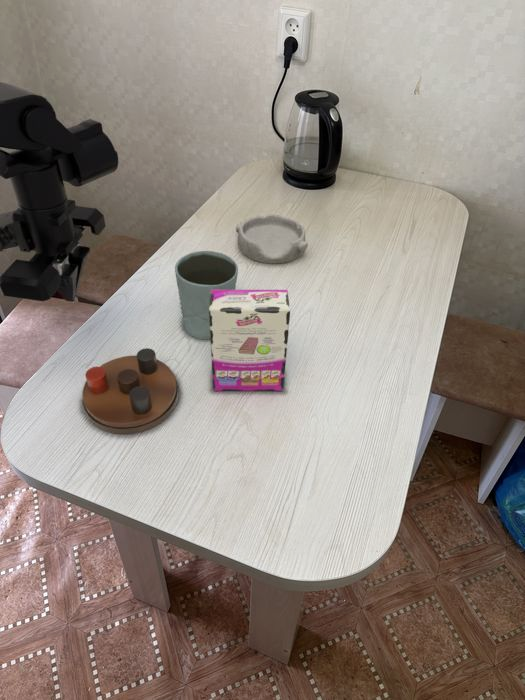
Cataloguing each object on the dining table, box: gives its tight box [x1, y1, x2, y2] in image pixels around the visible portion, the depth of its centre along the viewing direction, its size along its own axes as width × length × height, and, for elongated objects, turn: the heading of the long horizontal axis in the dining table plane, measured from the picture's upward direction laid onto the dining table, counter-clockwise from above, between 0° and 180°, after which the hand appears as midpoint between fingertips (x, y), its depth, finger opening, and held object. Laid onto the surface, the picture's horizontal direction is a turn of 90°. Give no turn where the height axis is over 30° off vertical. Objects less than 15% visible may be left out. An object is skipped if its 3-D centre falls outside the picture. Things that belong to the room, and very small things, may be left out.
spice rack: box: [82, 347, 177, 428], centre depth 74 cm, size 14×14×4 cm
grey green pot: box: [174, 250, 239, 340], centre depth 86 cm, size 10×10×12 cm
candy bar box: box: [209, 289, 291, 392], centre depth 75 cm, size 11×5×16 cm, turn 92°
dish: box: [235, 213, 309, 264], centre depth 107 cm, size 14×14×5 cm
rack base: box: [82, 378, 179, 435], centre depth 76 cm, size 14×14×1 cm
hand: (70, 299), depth 73 cm, fingers closed
